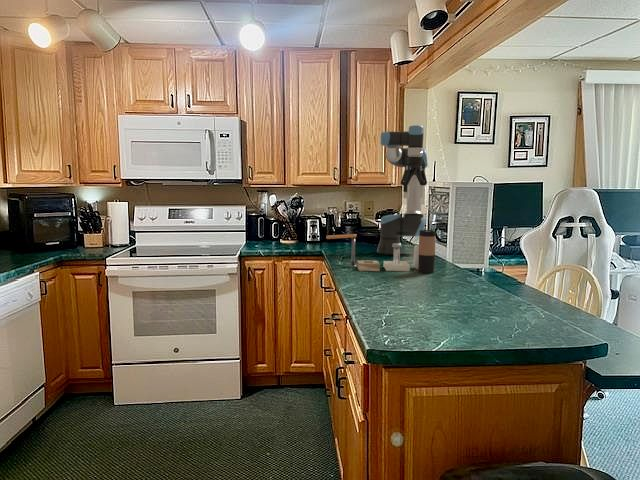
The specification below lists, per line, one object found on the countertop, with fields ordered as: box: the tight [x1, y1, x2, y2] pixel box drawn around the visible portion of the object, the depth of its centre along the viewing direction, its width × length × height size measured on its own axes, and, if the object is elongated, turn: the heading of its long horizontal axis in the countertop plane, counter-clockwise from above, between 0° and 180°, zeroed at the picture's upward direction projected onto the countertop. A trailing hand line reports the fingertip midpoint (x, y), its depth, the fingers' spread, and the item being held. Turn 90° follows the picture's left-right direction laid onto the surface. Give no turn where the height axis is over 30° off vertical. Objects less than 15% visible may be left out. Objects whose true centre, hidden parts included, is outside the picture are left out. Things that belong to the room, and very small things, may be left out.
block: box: [356, 259, 381, 272], centre depth 234 cm, size 10×10×4 cm
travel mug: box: [417, 229, 437, 275], centre depth 226 cm, size 8×8×20 cm
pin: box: [392, 242, 402, 265], centre depth 234 cm, size 4×4×12 cm
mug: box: [413, 244, 419, 270], centre depth 238 cm, size 12×9×11 cm
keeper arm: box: [325, 233, 357, 240], centre depth 235 cm, size 17×3×1 cm, turn 122°
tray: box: [382, 260, 411, 272], centre depth 235 cm, size 11×11×3 cm
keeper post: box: [348, 237, 357, 268], centre depth 240 cm, size 4×4×15 cm
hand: (413, 198), depth 246 cm, fingers open, 13 cm apart
